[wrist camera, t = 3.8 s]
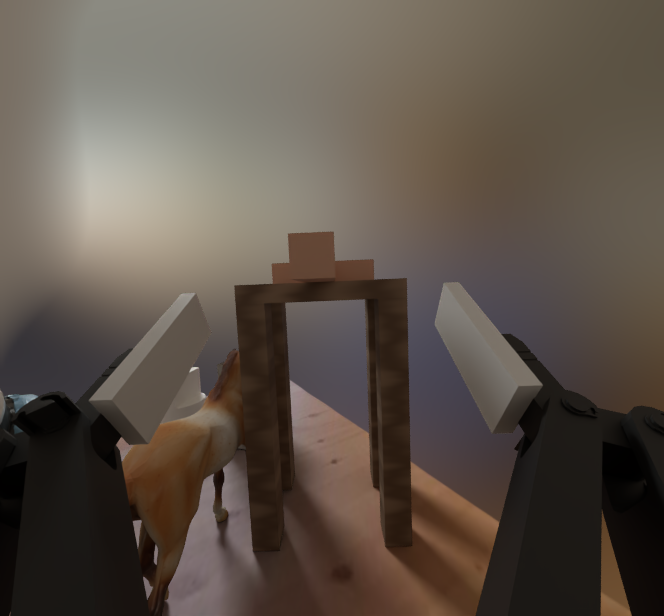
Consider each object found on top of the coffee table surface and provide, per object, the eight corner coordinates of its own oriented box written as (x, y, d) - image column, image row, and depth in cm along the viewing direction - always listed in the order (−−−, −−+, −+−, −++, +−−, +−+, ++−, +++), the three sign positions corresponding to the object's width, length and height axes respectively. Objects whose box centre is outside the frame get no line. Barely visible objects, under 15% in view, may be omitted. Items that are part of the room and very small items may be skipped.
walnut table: (252, 551, 30) (234, 285, 28) (275, 475, 42) (264, 286, 40) (412, 545, 30) (406, 278, 27) (389, 471, 42) (384, 281, 39)
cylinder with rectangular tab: (180, 415, 64) (176, 367, 63) (215, 416, 63) (211, 367, 62) (150, 436, 55) (145, 380, 54) (190, 438, 54) (185, 380, 53)
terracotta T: (208, 282, 18) (204, 237, 17) (277, 285, 40) (276, 265, 39) (418, 274, 18) (417, 227, 17) (371, 281, 39) (370, 261, 39)
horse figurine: (243, 463, 45) (235, 345, 44) (287, 467, 44) (279, 345, 42) (-38, 831, 15) (-99, 482, 13) (75, 882, 13) (21, 498, 12)
